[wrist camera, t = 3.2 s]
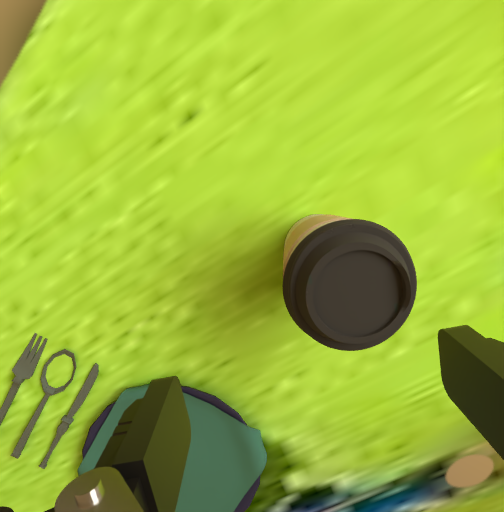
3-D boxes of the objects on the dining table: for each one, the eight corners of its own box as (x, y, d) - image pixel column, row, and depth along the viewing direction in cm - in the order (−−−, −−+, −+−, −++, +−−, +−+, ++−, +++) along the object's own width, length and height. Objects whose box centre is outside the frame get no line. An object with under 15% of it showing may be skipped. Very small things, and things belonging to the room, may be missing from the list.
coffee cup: (282, 299, 40) (300, 375, 25) (264, 213, 38) (272, 241, 23) (368, 281, 39) (439, 348, 25) (355, 194, 37) (423, 210, 23)
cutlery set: (208, 552, 47) (206, 571, 45) (-20, 443, 44) (-35, 458, 42) (293, 428, 43) (295, 441, 41) (51, 300, 41) (39, 308, 38)
